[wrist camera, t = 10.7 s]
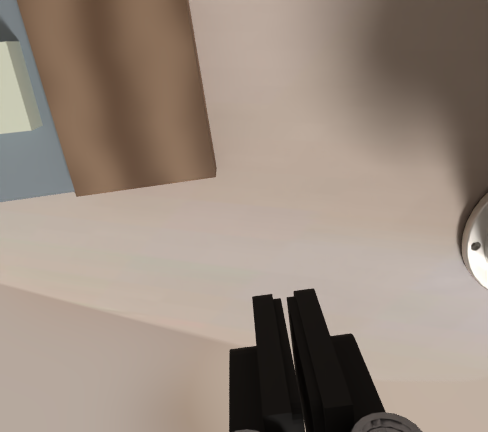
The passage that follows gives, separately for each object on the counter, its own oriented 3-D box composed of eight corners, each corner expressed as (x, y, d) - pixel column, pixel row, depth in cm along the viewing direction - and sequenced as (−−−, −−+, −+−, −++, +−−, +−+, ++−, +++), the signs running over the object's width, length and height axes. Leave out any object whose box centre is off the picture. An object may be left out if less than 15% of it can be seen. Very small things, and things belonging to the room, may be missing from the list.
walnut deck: (179, -55, 30) (174, -63, 27) (216, 168, 36) (215, 177, 33) (22, -31, 30) (5, -37, 28) (86, 186, 36) (76, 196, 34)
